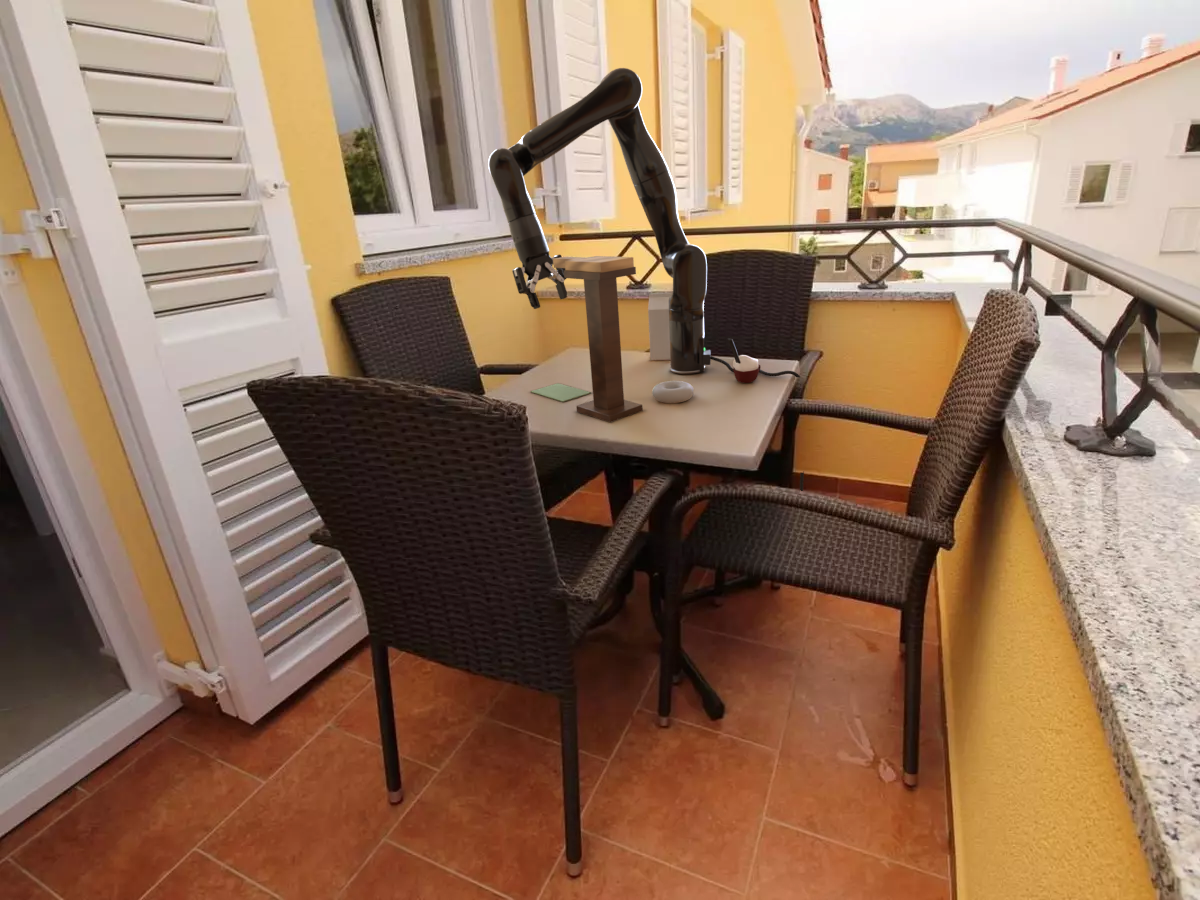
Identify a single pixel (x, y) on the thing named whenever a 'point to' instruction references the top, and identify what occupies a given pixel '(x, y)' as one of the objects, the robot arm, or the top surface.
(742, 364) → the cocoa
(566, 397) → the cloth
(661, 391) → the donut
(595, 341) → the stand
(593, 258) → the paddle
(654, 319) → the milk carton
